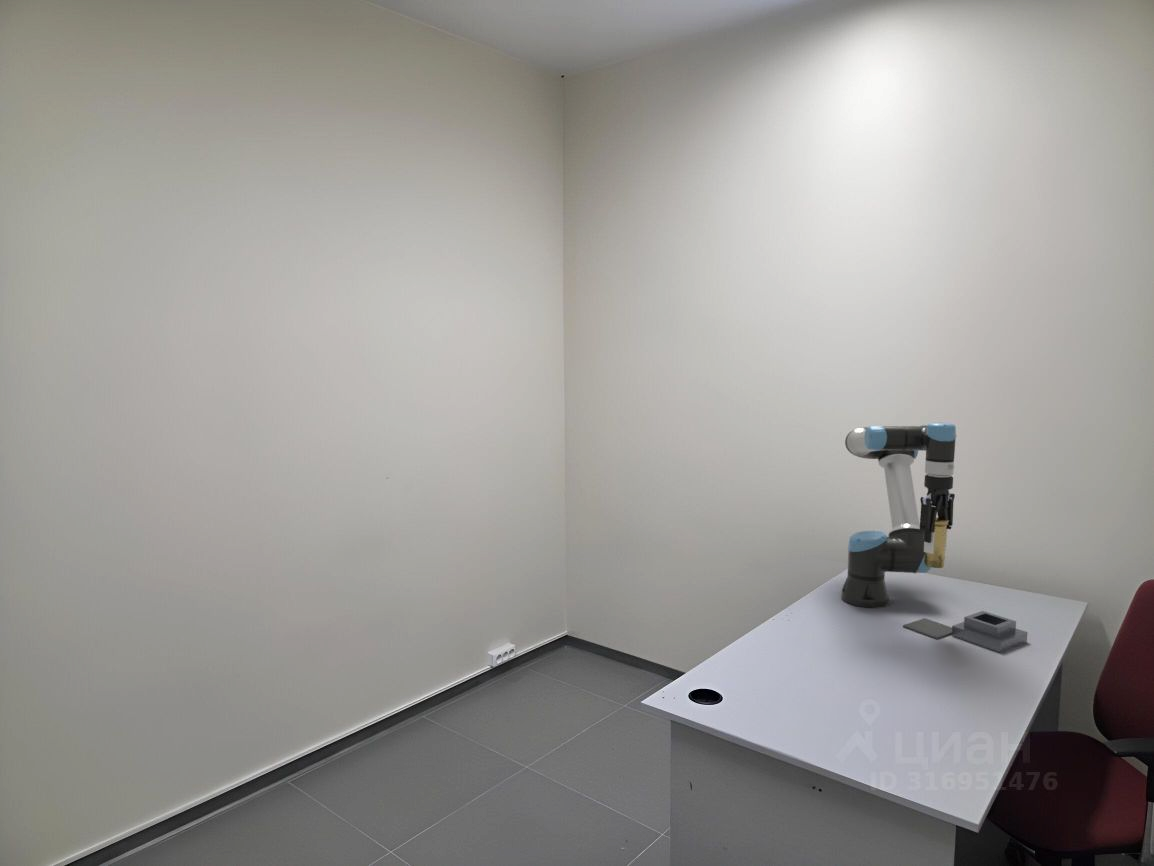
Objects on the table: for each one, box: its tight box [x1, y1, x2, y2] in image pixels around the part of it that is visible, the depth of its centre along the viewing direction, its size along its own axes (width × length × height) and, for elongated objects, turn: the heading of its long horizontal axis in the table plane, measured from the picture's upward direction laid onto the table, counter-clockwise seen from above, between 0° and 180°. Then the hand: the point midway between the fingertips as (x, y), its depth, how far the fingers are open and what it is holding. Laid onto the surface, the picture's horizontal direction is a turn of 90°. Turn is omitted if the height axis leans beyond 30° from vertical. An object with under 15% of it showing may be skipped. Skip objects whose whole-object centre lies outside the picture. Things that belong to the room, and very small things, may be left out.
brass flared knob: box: [924, 517, 948, 569], centre depth 207 cm, size 6×6×14 cm
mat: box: [902, 617, 952, 640], centre depth 210 cm, size 11×11×1 cm
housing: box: [951, 610, 1028, 654], centre depth 203 cm, size 14×14×6 cm
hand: (934, 551), depth 207 cm, fingers closed on brass flared knob, 5 cm apart
